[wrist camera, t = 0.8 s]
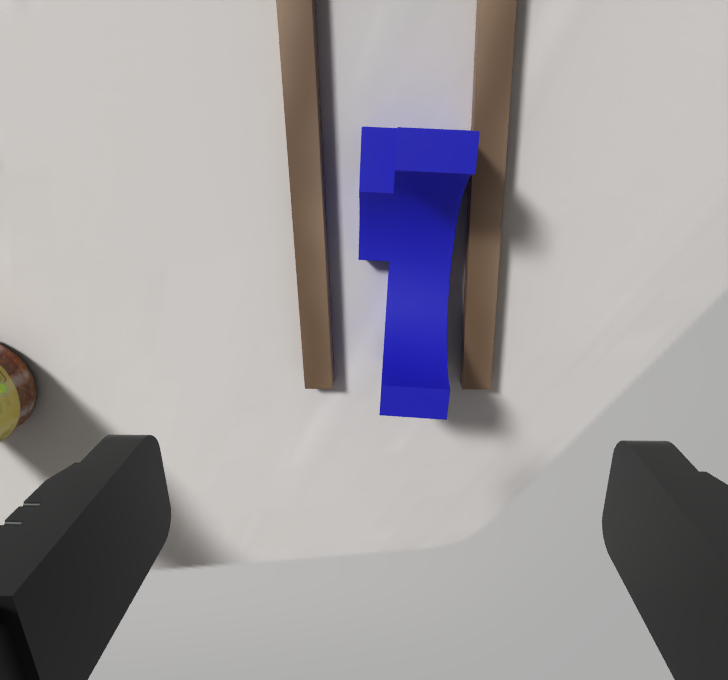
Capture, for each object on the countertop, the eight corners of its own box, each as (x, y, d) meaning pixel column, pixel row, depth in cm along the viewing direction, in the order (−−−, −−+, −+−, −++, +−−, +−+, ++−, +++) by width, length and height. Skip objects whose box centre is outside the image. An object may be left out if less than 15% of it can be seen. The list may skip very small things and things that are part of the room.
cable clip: (365, 127, 25) (356, 125, 19) (461, 132, 25) (480, 131, 19) (356, 359, 29) (346, 412, 24) (437, 365, 29) (446, 419, 23)
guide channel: (542, -251, 20) (587, -372, 15) (496, 381, 29) (515, 428, 24) (251, -229, 20) (207, -337, 16) (299, 380, 30) (280, 426, 25)
